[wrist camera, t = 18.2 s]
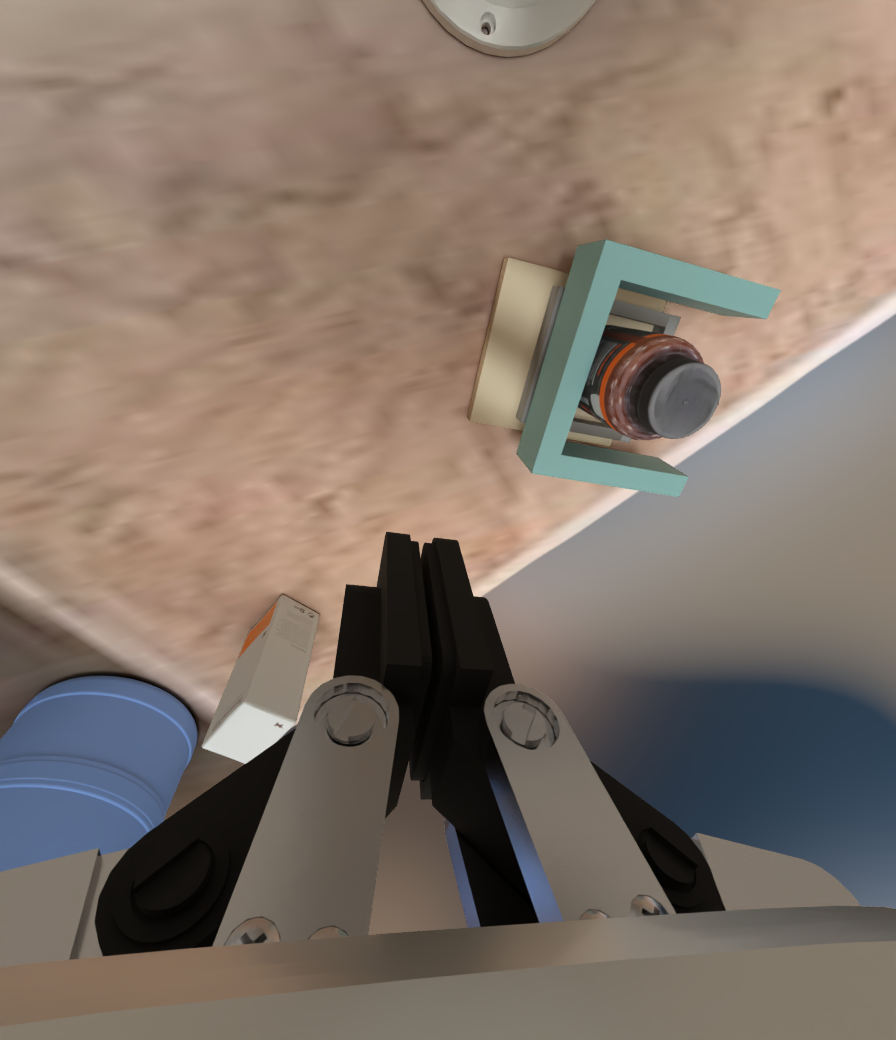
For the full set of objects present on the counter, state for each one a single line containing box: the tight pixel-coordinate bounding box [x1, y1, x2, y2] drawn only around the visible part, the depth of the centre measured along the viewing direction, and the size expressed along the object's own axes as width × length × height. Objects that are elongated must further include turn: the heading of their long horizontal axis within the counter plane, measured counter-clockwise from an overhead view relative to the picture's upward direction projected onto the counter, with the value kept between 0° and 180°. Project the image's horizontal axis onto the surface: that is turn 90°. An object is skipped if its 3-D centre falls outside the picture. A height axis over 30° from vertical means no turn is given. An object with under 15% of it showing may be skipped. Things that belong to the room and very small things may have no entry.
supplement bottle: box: [578, 325, 721, 440], centre depth 27 cm, size 6×6×11 cm
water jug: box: [0, 676, 197, 872], centre depth 33 cm, size 16×16×28 cm
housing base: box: [467, 257, 681, 447], centre depth 32 cm, size 11×12×3 cm
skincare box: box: [202, 595, 320, 764], centre depth 36 cm, size 6×4×12 cm
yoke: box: [516, 240, 781, 497], centre depth 29 cm, size 14×12×4 cm
